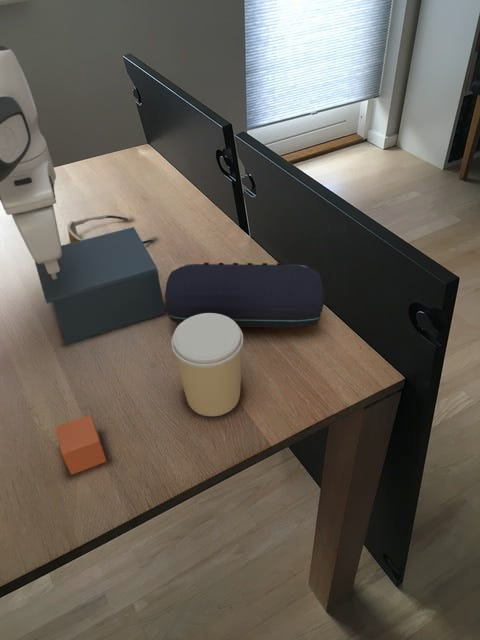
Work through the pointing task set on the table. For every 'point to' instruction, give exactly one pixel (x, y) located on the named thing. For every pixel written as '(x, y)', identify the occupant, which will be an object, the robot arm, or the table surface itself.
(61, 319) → the open box
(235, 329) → the coffee cup
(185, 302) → the portable speaker
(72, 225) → the sunglasses
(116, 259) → the lid
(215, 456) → the table surface
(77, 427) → the block
